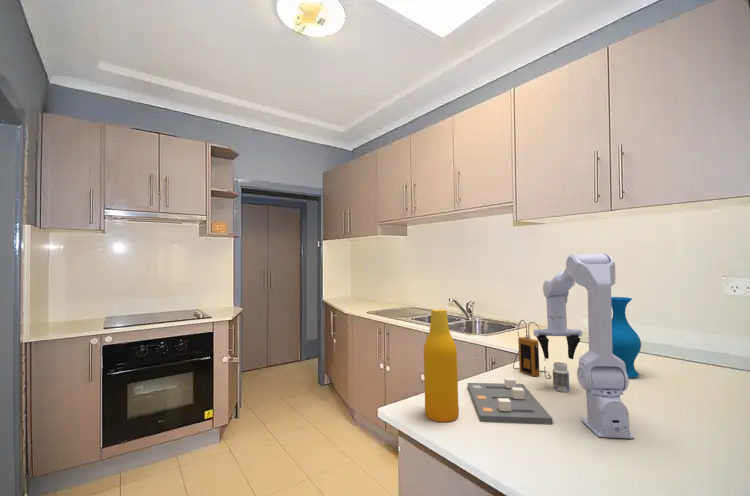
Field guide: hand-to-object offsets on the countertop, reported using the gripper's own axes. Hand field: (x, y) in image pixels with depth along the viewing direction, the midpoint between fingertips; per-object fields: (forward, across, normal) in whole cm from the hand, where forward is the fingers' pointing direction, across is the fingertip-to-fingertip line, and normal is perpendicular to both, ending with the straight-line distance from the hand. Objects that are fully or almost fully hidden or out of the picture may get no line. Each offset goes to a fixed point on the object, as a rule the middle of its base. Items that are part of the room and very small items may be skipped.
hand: (558, 358), depth 116 cm
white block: (+8, +23, +23) cm, 33 cm away
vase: (+10, -28, -18) cm, 35 cm away
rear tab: (+8, +17, +5) cm, 19 cm away
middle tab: (+8, +17, +14) cm, 23 cm away
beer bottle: (+10, +40, +24) cm, 47 cm away
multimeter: (+10, +2, -18) cm, 20 cm away
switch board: (+10, +21, +14) cm, 27 cm away
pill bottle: (+10, 0, 0) cm, 10 cm away
